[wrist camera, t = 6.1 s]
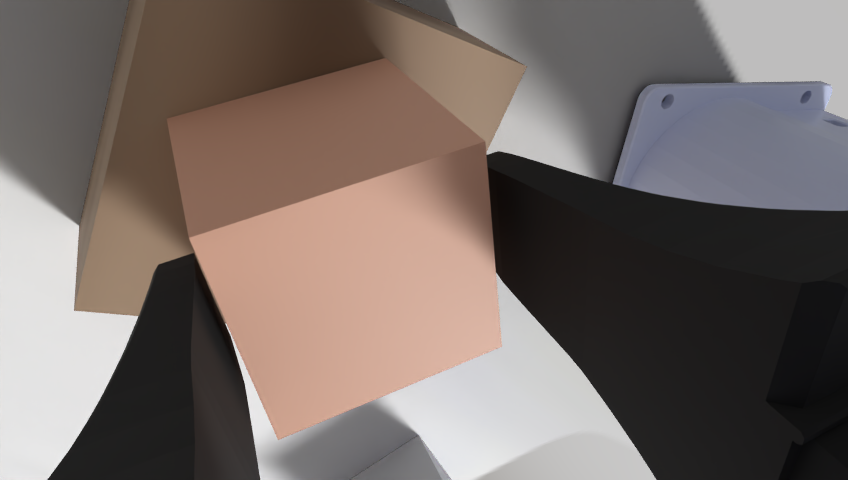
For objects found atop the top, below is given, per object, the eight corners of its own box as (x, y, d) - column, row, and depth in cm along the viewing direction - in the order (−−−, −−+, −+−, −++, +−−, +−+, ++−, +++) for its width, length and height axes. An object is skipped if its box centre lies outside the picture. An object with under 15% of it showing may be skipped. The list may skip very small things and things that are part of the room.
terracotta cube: (385, 57, 13) (485, 141, 9) (415, 232, 16) (501, 346, 12) (166, 118, 12) (188, 238, 8) (238, 294, 15) (278, 439, 11)
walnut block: (453, 24, 18) (527, 66, 14) (354, 261, 20) (398, 337, 17) (151, -103, 13) (165, -82, 10) (79, 219, 16) (73, 310, 13)
